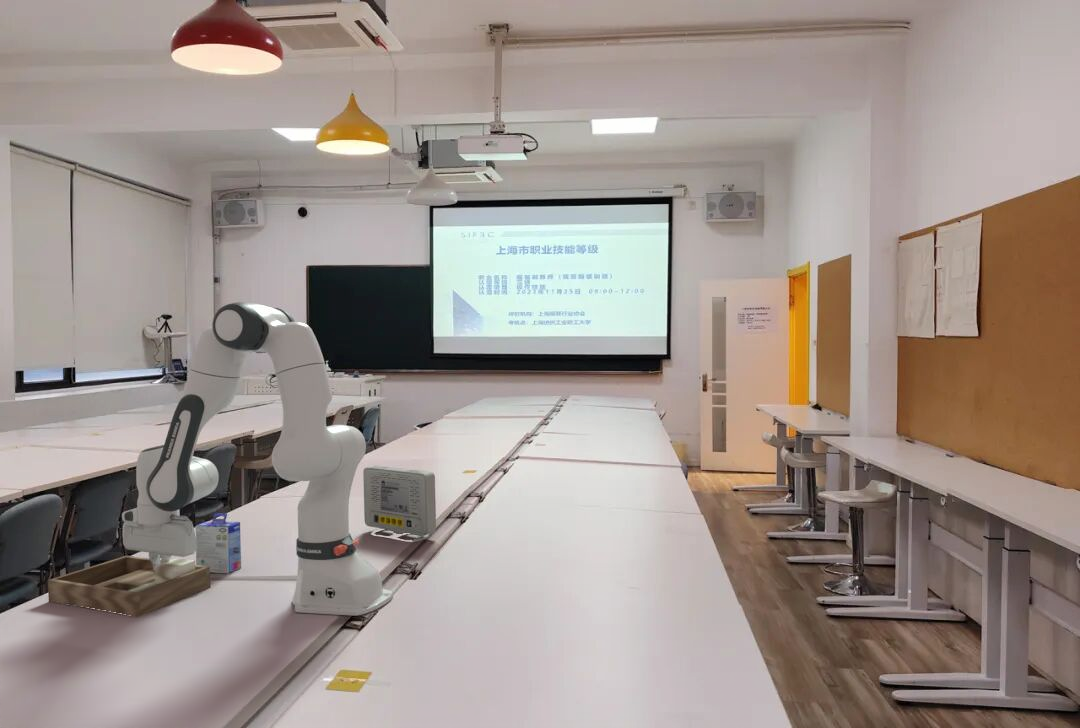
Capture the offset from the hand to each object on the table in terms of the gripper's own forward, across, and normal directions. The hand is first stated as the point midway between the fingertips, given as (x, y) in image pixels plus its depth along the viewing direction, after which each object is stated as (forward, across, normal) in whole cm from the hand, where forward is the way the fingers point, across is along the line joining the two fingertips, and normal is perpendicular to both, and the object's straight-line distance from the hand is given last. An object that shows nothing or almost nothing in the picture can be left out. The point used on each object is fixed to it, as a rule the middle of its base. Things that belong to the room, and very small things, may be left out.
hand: (160, 570), depth 173 cm
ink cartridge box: (+5, -1, -16) cm, 17 cm away
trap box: (+5, +4, +4) cm, 8 cm away
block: (+2, -5, 0) cm, 5 cm away
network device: (+5, -28, -60) cm, 66 cm away
